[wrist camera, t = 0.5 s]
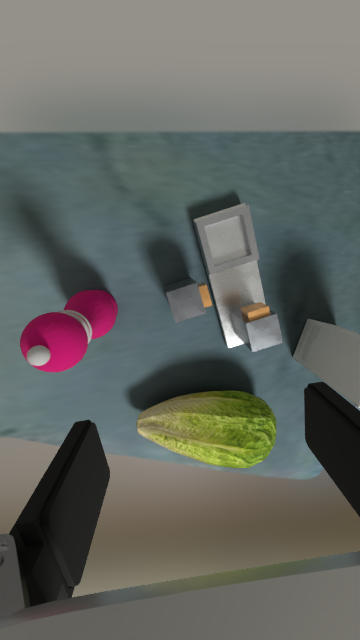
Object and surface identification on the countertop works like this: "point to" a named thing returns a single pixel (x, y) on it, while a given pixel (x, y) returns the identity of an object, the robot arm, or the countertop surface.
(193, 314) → the grey block
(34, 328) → the pepper mill
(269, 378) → the countertop surface
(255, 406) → the lettuce
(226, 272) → the rail
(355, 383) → the skincare box
